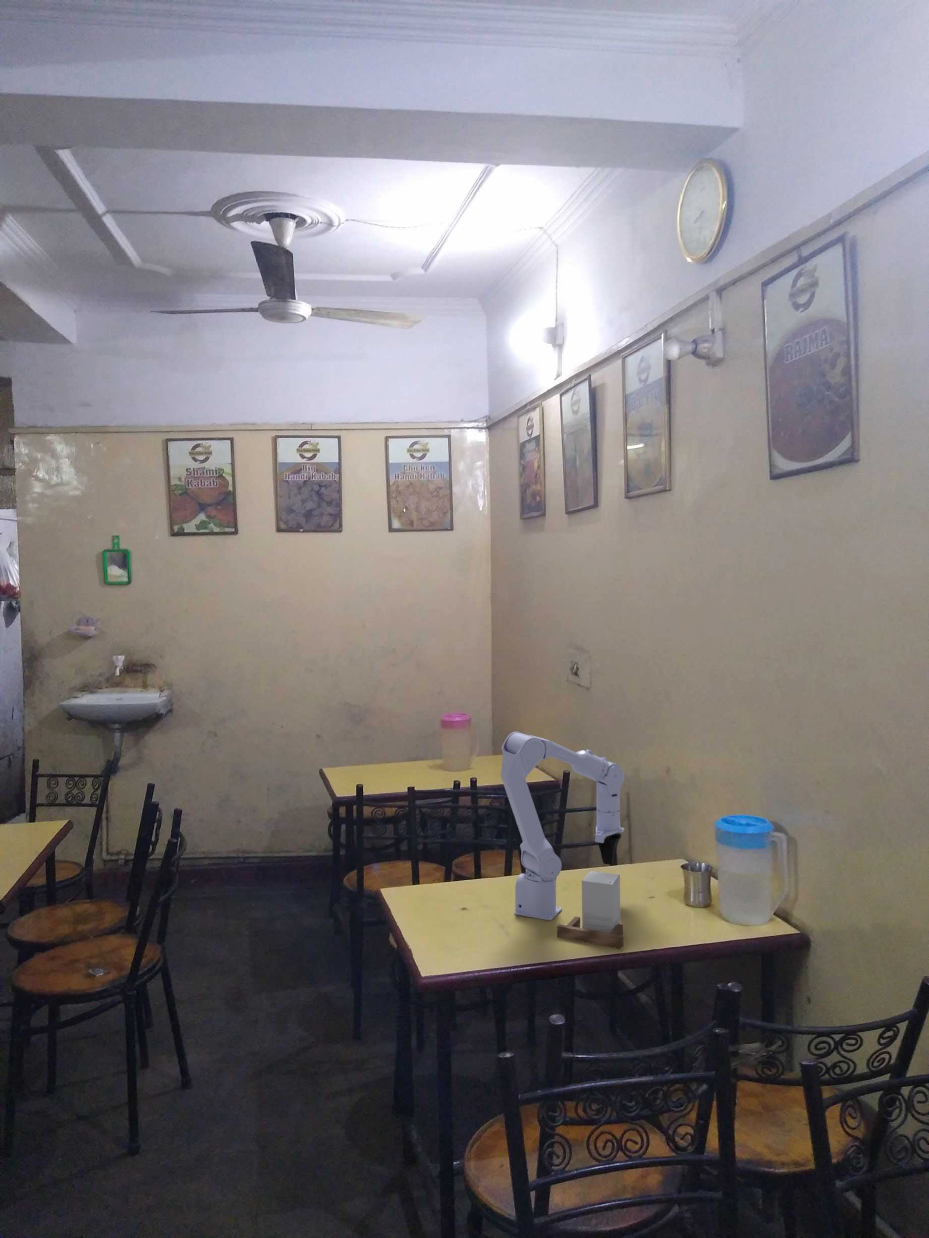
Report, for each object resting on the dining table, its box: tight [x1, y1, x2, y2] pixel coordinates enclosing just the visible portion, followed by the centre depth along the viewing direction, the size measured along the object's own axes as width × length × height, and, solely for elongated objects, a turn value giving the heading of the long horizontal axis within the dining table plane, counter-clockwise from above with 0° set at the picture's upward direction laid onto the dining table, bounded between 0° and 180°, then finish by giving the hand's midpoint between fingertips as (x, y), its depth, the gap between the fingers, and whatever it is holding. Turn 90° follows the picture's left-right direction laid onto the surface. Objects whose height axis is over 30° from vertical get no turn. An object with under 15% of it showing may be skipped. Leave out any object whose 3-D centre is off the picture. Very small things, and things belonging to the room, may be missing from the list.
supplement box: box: [581, 870, 621, 933], centre depth 205 cm, size 7×7×13 cm
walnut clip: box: [556, 916, 624, 949], centre depth 202 cm, size 15×7×2 cm, turn 63°
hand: (607, 863), depth 224 cm, fingers closed
